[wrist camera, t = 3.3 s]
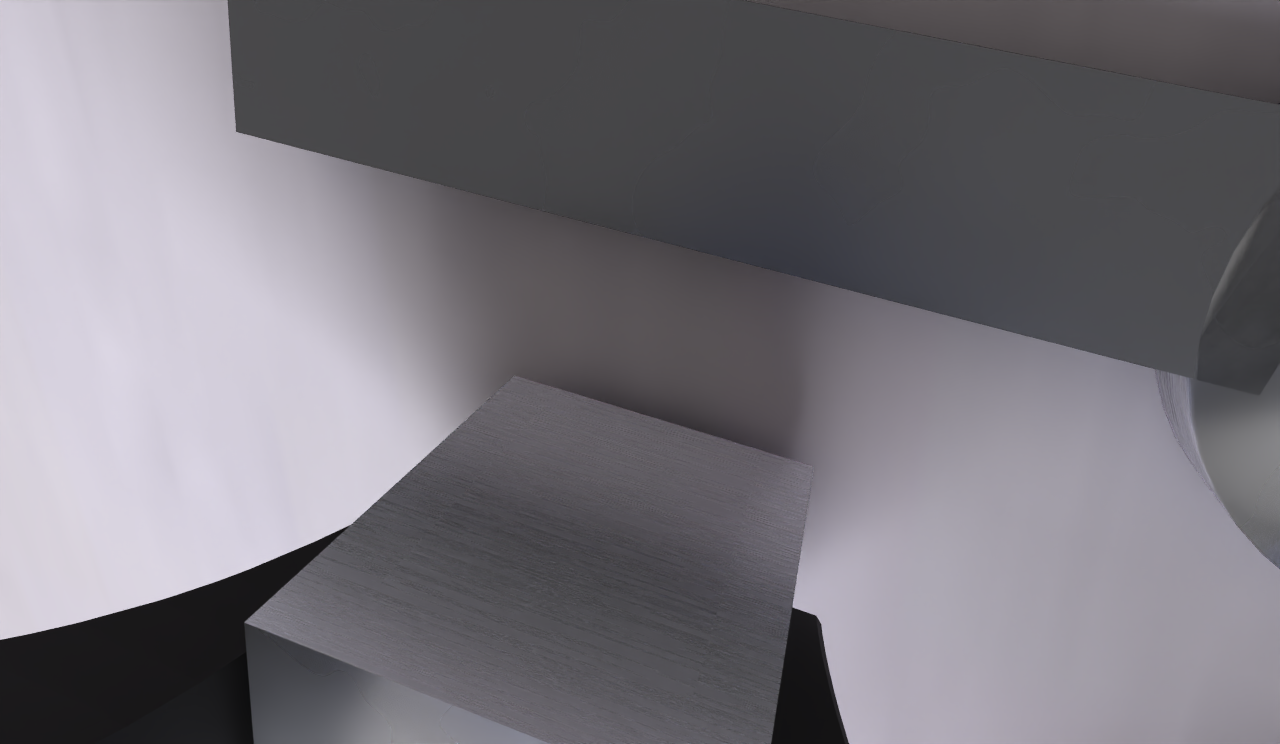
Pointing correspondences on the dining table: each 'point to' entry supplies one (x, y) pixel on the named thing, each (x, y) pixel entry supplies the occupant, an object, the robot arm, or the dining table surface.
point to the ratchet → (837, 171)
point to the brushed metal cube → (545, 590)
